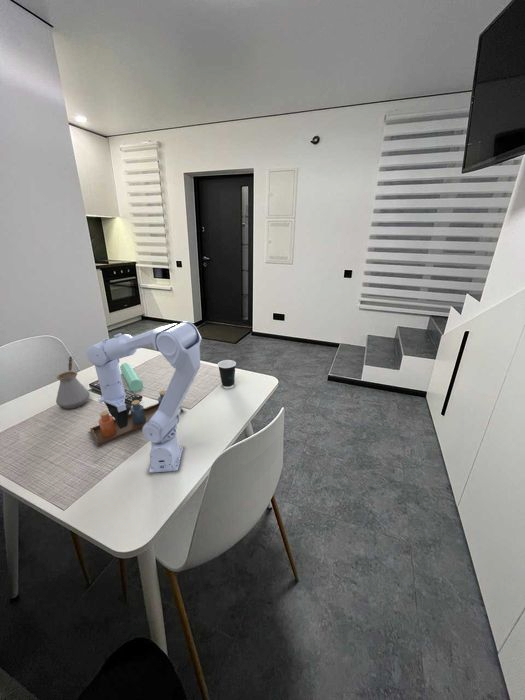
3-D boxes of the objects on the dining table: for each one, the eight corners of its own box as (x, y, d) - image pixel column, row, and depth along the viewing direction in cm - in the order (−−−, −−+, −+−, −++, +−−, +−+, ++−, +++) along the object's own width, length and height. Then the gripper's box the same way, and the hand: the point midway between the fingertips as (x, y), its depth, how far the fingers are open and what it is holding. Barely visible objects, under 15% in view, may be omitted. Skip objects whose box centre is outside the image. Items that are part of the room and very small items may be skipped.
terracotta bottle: (113, 436, 95) (108, 416, 92) (99, 437, 95) (94, 417, 92) (118, 428, 99) (113, 408, 96) (105, 429, 99) (100, 409, 96)
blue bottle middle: (143, 424, 101) (140, 405, 98) (131, 425, 101) (126, 405, 98) (147, 416, 105) (143, 398, 102) (134, 417, 105) (131, 399, 102)
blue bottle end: (170, 413, 107) (167, 395, 104) (158, 414, 107) (155, 395, 104) (172, 406, 112) (170, 389, 108) (161, 407, 111) (158, 389, 108)
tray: (171, 401, 116) (171, 398, 115) (183, 412, 109) (182, 409, 108) (91, 432, 98) (90, 428, 97) (98, 447, 91) (97, 443, 90)
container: (119, 360, 140) (130, 378, 120) (132, 361, 143) (144, 380, 124) (117, 371, 141) (127, 391, 121) (129, 372, 144) (141, 392, 125)
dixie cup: (235, 390, 124) (234, 367, 120) (217, 389, 125) (215, 367, 120) (238, 381, 131) (237, 360, 127) (221, 381, 132) (220, 359, 128)
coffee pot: (90, 407, 112) (80, 373, 107) (55, 414, 108) (43, 379, 102) (94, 383, 130) (86, 353, 125) (64, 389, 126) (55, 358, 120)
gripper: (89, 376, 84) (99, 415, 90) (101, 396, 74) (112, 438, 79) (114, 369, 89) (122, 407, 94) (130, 387, 79) (138, 428, 84)
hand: (119, 420), depth 87 cm, fingers open, 7 cm apart
